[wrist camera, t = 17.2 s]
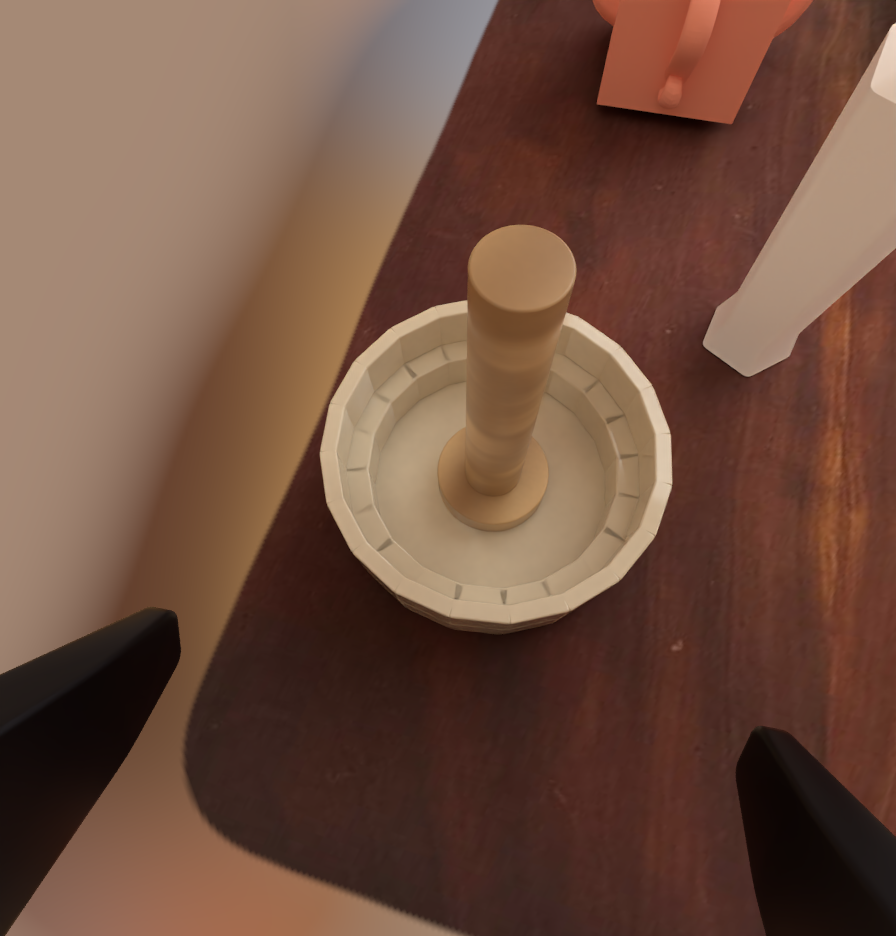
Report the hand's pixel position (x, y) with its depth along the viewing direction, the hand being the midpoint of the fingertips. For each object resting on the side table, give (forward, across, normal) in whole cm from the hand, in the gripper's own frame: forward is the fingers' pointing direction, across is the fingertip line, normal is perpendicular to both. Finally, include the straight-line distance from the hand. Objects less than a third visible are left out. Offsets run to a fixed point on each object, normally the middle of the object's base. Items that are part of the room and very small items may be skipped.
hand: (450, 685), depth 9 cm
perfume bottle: (+22, -11, -2) cm, 24 cm away
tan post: (+15, 0, +4) cm, 15 cm away
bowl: (+15, 0, +4) cm, 16 cm away
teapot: (+34, -6, -14) cm, 37 cm away
